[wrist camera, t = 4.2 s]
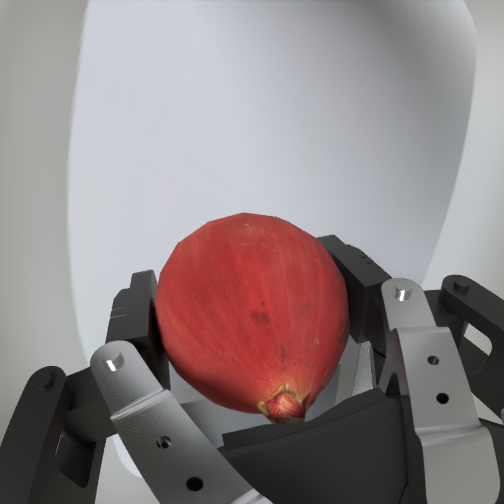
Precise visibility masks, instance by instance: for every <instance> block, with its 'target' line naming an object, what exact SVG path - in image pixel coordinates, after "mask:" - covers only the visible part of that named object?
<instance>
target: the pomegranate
mask: <svg viewBox="0 0 504 504" xmlns="http://www.w3.org/2000/svg"><path fill="white" fill-rule="evenodd" d="M154 316H155V324H156V328H157V332H158V336H159V338H160V341H161V343H162V346H163V348H164V350H165V353H166V355H167V357H168V360H169V361H170V363H171V365H172V366H173V368H174V370H175V371H176V373H177V374H178V375H179V376H180V377H181V378H182V379H183V380H185V381H186V382H187V383H188V384H189V385H190V386H192V387H193V388H194V389H195V390H197V391H198V392H199V393H200V394H202V395H203V396H204V397H205V398H207V399H208V400H210V401H211V402H213V403H214V404H217V405H219V406H222V407H225V408H228V409H232V410H236V411H240V412H244V413H250V414H263V415H264V416H265V417H266V418H267V419H268V420H269V421H270V422H271V423H272V424H283V423H297V422H304V421H305V417H306V413H307V411H308V410H309V408H310V407H311V406H312V404H313V403H314V402H315V400H316V398H317V396H318V394H319V393H320V392H321V391H322V390H323V389H324V388H325V387H326V385H327V384H328V383H329V381H330V380H331V378H332V376H333V374H334V372H335V370H336V368H337V365H338V363H339V361H340V359H341V357H342V354H343V352H344V350H345V347H346V345H347V342H348V338H349V334H350V318H349V306H348V295H347V289H346V284H345V280H344V277H343V275H342V273H341V272H340V270H339V269H338V267H337V266H336V264H335V262H334V261H333V259H332V258H331V256H330V255H329V253H328V252H327V250H326V249H325V248H324V246H323V245H322V244H321V243H320V242H319V241H318V240H317V239H316V238H315V237H313V236H312V235H310V234H308V233H307V232H305V231H303V230H302V229H300V228H298V227H297V226H295V225H293V224H291V223H290V222H288V221H285V220H283V219H280V218H278V217H273V216H266V215H258V214H251V213H240V214H236V215H232V216H229V217H225V218H221V219H217V220H214V221H210V222H208V223H206V224H205V225H203V226H202V227H200V228H199V229H197V230H196V231H195V232H193V233H192V234H190V235H189V236H187V237H186V238H185V239H183V240H182V241H180V242H179V243H178V244H177V245H176V247H175V249H174V250H173V252H172V254H171V255H170V257H169V259H168V261H167V262H166V264H165V266H164V267H163V269H162V271H161V273H160V277H159V281H158V286H157V293H156V304H155V315H154Z"/></svg>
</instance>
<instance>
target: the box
mask: <svg viewBox="0 0 504 504" xmlns="http://www.w3.org/2000/svg"><path fill="white" fill-rule="evenodd" d="M360 346H361V343H360V344H356V342H355V341H354V340H353V338H352V337H351V335H350V334H349V338H348V342H347V345H346V347H345V350H344V352H343V354H342V357H341V359H340V361H339V363H338V365H337V368H336V370H335V372H334V374H333V376H332V378H331V380H330V381H329V383H328V384H327V385H326V387H325V388H324V389H323V390H322V391H321V392H320V393H319V394H318V396H317V398H316V400H315V402H314V403H313V404H312V406H311V407H310V408H309V410H308V411H307V413H306V417H305V421H304V422H307V421H310V420H312V419H314V418H316V417H318V416H319V415H321V414H323V413H324V412H326V411H327V410H329V409H331V408H332V407H334V406H335V405H337V404H339V403H340V402H342V401H343V400H345V399H347V398H350V397H351V396H352V391H353V386H354V380H355V375H356V370H357V364H358V358H359V352H360ZM169 371H170V385H171V390H170V391H169V392H170V393H171V394H172V395H173V397H174V398H175V399H176V401H177V402H178V403H179V405H180V406H181V407H182V408H183V410H184V411H185V412H186V413H187V415H188V416H189V417H190V418H191V420H192V421H193V422H194V423H195V425H196V426H197V427H198V428H199V429H200V431H201V432H202V433H203V434H204V435H205V437H206V438H207V439H208V440H209V441H210V442H211V443H212V445H213V446H214V447H215V448H218V447H221V446H223V445H224V443H223V439H222V434H224V433H229V432H233V431H238V430H242V429H247V428H251V427H255V426H259V425H263V424H272V423H271V422H270V421H269V420H268V419H267V418H266V417H265V416H264V415H263V414H250V413H244V412H240V411H236V410H232V409H228V408H225V407H222V406H219V405H217V404H214V403H213V402H211V401H210V400H208V399H207V398H205V397H204V396H203V395H202V394H200V393H199V392H198V391H197V390H195V389H194V388H193V387H192V386H190V385H189V384H188V383H187V382H186V381H185V380H183V379H182V378H181V377H180V376H179V375H178V374H177V373H176V371H175V370H174V368H173V366H172V365H171V363H170V361H169Z"/></svg>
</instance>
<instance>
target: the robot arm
mask: <svg viewBox="0 0 504 504" xmlns="http://www.w3.org/2000/svg"><path fill="white" fill-rule="evenodd" d="M316 239H317V240H318V241H319V242H320V243H321V244H322V245H323V246H324V248H325V249H326V250H327V252H328V253H329V255H330V256H331V258H332V259H333V261H334V262H335V264H336V266H337V267H338V269H339V270H340V272H341V273H342V275H343V277H344V280H345V284H346V289H347V295H348V306H349V318H350V335H351V337H352V338H353V340H354V341H355V342H356V344H360V343H363V342H366V341H370V343H371V348H370V361H371V373H372V385H373V389H371V390H368V391H366V392H363V393H361V394H358V395H355V396H353V397H350V398H347V399H345V400H343V401H342V402H340V403H339V404H337V405H335V406H334V407H332V408H331V409H329V410H327V411H326V412H324V413H323V414H321V415H319V416H318V417H316V418H314V419H312V420H310V421H307V422H297V423H283V424H263V425H259V426H255V427H251V428H247V429H242V430H238V431H233V432H229V433H224V434H222V439H223V443H224V445H223V446H221V447H218V448H215V447H214V446H213V445H212V443H211V442H210V441H209V440H208V439H207V438H206V437H205V435H204V434H203V433H202V432H201V431H200V429H199V428H198V427H197V426H196V425H195V423H194V422H193V421H192V420H191V418H190V417H189V416H188V415H187V413H186V412H185V411H184V410H183V408H182V407H181V406H180V405H179V403H178V402H177V401H176V399H175V398H174V397H173V395H172V394H171V393H170V392H169V391H170V390H171V385H170V371H169V360H168V357H167V355H166V353H165V350H164V348H163V346H162V343H161V341H160V338H159V336H158V332H157V328H156V324H155V316H154V315H155V304H156V293H157V286H158V284H157V281H156V277H155V274H154V271H153V270H147V271H142V272H137V273H133V274H132V278H131V284H130V288H127V289H122V290H121V291H120V292H119V293H118V294H117V296H116V297H115V298H114V301H113V306H112V311H111V316H110V317H111V318H110V321H109V326H108V331H107V336H106V342H105V344H104V345H103V346H101V347H100V348H98V349H97V350H96V351H95V352H94V354H93V355H92V357H91V360H90V367H88V368H86V369H84V370H81V371H79V372H76V373H74V374H71V375H69V376H66V374H65V373H64V371H63V370H62V369H61V368H59V367H57V366H47V367H44V368H42V369H39V370H38V371H36V372H35V373H34V374H33V375H32V376H31V377H30V378H29V380H28V382H27V384H26V386H25V388H24V390H23V392H22V395H21V397H20V399H19V401H18V404H17V406H16V408H15V411H14V413H13V415H12V418H11V420H10V423H9V425H8V428H7V430H6V433H5V435H4V438H3V441H2V443H1V446H0V504H95V498H96V492H97V486H98V480H99V474H100V468H101V463H102V457H103V453H104V447H105V443H106V438H107V437H110V436H112V435H115V434H117V433H118V435H119V437H120V438H121V440H122V442H123V444H124V446H125V448H126V449H127V451H128V453H129V455H130V457H131V458H132V460H133V462H134V464H135V465H136V467H137V469H138V470H139V472H140V474H141V475H142V477H143V478H144V480H145V482H146V483H147V485H148V486H149V488H150V489H151V491H152V493H153V494H154V496H155V497H156V499H157V500H158V501H159V503H160V504H504V300H503V299H501V298H500V297H498V296H497V295H495V294H494V293H492V292H490V291H489V290H487V289H486V288H484V287H483V286H481V285H480V284H478V283H476V282H475V281H473V280H471V279H469V278H468V277H465V276H462V275H449V276H447V277H445V278H444V280H443V282H442V286H441V290H427V291H423V289H422V288H421V286H420V285H418V284H417V283H416V282H414V281H412V280H409V279H404V278H392V277H391V276H390V275H388V274H387V273H386V272H385V271H384V270H383V269H382V268H381V267H380V266H378V265H377V264H376V263H374V261H373V260H372V259H370V258H369V257H368V256H367V255H366V254H365V253H364V252H362V251H361V250H360V249H358V248H356V247H353V246H351V245H349V244H348V245H345V244H344V243H343V242H342V241H341V240H340V239H339V238H337V237H336V236H335V235H328V236H323V237H318V238H316ZM469 323H470V324H471V325H472V326H474V327H475V328H476V329H478V330H479V331H480V332H482V333H483V334H485V335H486V336H487V337H488V338H489V339H490V341H491V343H492V351H491V353H490V355H489V356H488V355H487V354H486V353H484V352H483V351H482V350H481V349H479V348H478V347H477V346H476V345H474V344H473V343H472V342H470V341H469V340H468V339H467V338H465V337H464V334H465V332H466V329H467V326H468V324H469ZM471 392H472V393H473V394H474V395H475V396H476V397H477V398H478V399H480V400H481V401H482V402H483V403H484V404H485V405H486V406H487V407H488V408H489V409H491V410H492V411H493V412H494V413H495V414H496V415H497V416H498V417H499V418H500V419H501V420H502V422H503V424H502V425H501V424H497V423H494V422H491V421H488V420H485V419H481V418H478V416H477V412H476V408H475V404H474V401H473V397H472V394H471ZM60 436H61V438H60ZM59 440H60V441H59ZM58 443H59V445H58ZM57 446H58V448H57ZM56 450H57V452H56ZM55 454H56V456H55Z"/></svg>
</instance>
